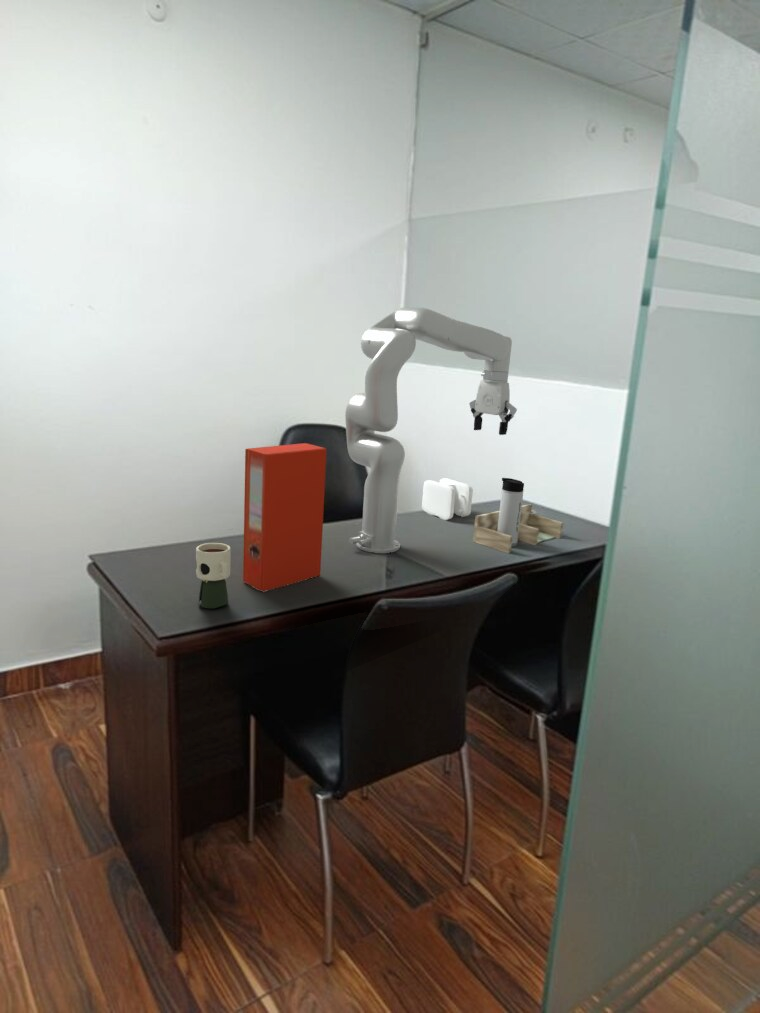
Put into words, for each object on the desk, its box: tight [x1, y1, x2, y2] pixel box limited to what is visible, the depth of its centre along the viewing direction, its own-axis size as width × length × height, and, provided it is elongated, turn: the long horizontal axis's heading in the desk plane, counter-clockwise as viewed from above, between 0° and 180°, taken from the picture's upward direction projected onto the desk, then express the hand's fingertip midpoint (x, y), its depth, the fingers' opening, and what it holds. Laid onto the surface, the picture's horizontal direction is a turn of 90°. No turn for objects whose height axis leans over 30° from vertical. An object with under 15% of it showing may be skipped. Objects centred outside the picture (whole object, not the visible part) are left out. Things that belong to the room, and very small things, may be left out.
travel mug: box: [497, 477, 525, 548], centre depth 198 cm, size 6×7×20 cm
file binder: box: [242, 442, 327, 591], centre depth 157 cm, size 8×17×32 cm, turn 136°
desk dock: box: [472, 503, 564, 554], centre depth 204 cm, size 28×13×8 cm, turn 134°
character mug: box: [195, 542, 232, 609], centre depth 142 cm, size 11×7×13 cm, turn 41°
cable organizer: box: [421, 477, 473, 521], centre depth 227 cm, size 15×11×12 cm
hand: (489, 432), depth 210 cm, fingers open, 9 cm apart
